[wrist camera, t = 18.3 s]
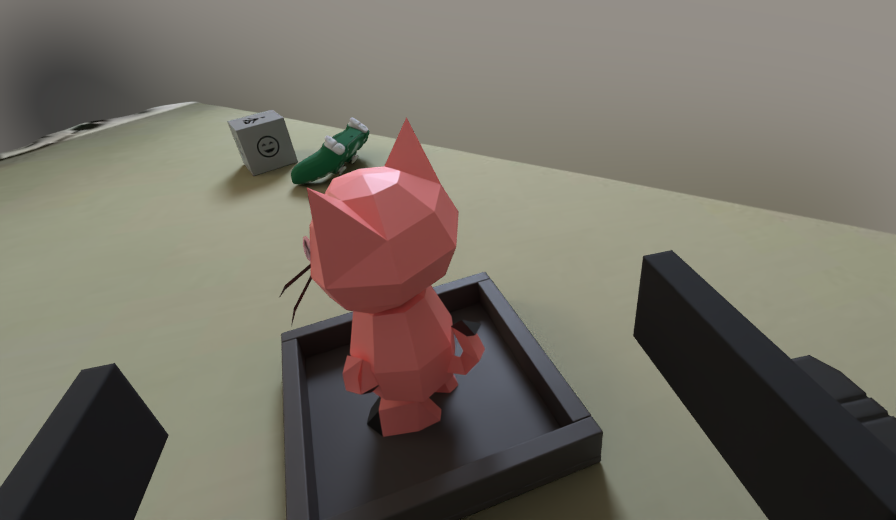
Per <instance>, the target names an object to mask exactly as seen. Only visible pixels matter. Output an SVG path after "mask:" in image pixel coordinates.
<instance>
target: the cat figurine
mask: <svg viewBox="0 0 896 520" xmlns="http://www.w3.org/2000/svg"><path fill="white" fill-rule="evenodd" d="M307 192H308V197H309V203H310V208H311V214H312V221H311V224H310V241H309V239H308V238H307V237H306V236H304V237H303V247H304V252H305V254H306V257H307V259H308V260H309V261H311V264H310V265H309V266H307V267H306V268H305V269H304V270H303V271H301V272H300V273H299V274H298V275H297V276H295V277H294V278H293V279H292V280H291V281H290V282H288V283H287V284H286V285H285V286H284V289H283V291H282V293H283V292H284V291H285V289H286V288H288V287H289V286H290V285H291V284H292V283H293V282H295V281H296V280H297V279H298V278H299V277H300V276H302V275H303V274H304V273H305V272H306V271H307V270H309V269H310V268H311V276H310V278H309V280H308V282H307V284H306V286H305V288H304V290H303V292H302V293H301V295H300V297H299V299H298V301H297V303H296V305H295V307H294V311H293V318H292V323H293V319H294V315H295V311H296V309H297V307H298V305H299V303H300V301H301V299H302V297H303V295H304V293H305V291H306V289H307V287H308V285H309V283H310V281H311V279H313V280H314V281H315V282H316V283H317V284H318V285H319V286H320V287H321V288H322V289H323V290H324V292H325V293H326V294H327V295H328V296H329V297H330V298H332V299H333V300H334V301H336V302H337V303H338V304H339V305H341V306H342V307H343V308H345V309H346V310H349V311H353V319H352V332H351V345H350V355H351V356H348V355H347V358H346V362H345V366H344V370H343V373H342V374H343V379H344V384H345V389H346V391H350V392H353V393H357V394H360V395H362V394H367V393H372V392H374V393H375V394H377V395H378V396H379V398H378V399H377V400H376V402H375V403H374V405H373V406H372V407H371V409H370V413H369V417H368V421H367V425H368V426H369V427H371V428H372V429H373V430H375V431H376V432H377V433H379V434H380V435H381V436H383V437H385V436H392V435H398V434H404V433H410V432H417V431H420V430H422V429H424V428H426V427H428V426H430V425H432V424H434V423H436V422H438V421H440V419H441V410H442V409H440V408H439V407H438V406H437V405H436V404H435V403H434V402H433V401H432V400H431V399H430V398H429V397H430V396H431V395H432V394H433V393H434V392H442V393H450V392H452V391H453V390H454V389H455V388H456V387H457V386H458V383H457V380H456V378H455V376H454V374H461V375H466V374H467V373H468V372H469V371H470V370H471V369H472V368H473V367H474V366H475V365H476V364H477V363H478V362H479V361H480V359H481V357H482V355H483V352H484V350H485V348H484V346H483V344H482V342H481V340H480V338H479V336H478V334H477V331H478V330H479V328H480V326H481V324H480V323H475V322H470V321H465V320H460V321H459V322H457V323H455V324H453V323H452V316H451V315H450V313H449V312H448V310H447V309H446V307H445V306H444V304H443V303H442V301H441V300H440V298H439V297H438V295H437V294H436V292H435V291H434V289H433V288H432V286H431V285H432V284H433V283H435V282H436V281H438V280H439V279H440V278H442V277H443V276H445V274H446V272H447V269H448V267H449V264H450V261H451V259H452V256H453V254H454V251H455V249H456V242H457V227H458V210H457V209H456V207H455V206H454V204H453V202H452V201H451V199H450V198H449V196H448V195H447V193H446V192H445V190H444V188H443V187H442V185H441V184H440V182H439V180H438V178H437V176H436V174H435V172H434V170H433V168H432V166H431V164H430V162H429V160H428V158H427V156H426V154H425V152H424V151H423V149H422V147H421V145H420V143H419V141H418V139H417V137H416V135H415V133H414V131H413V129H412V127H411V125H410V123H409V121H408V119H407V118H406V120H405V122H404V124H403V126H402V128H401V131H400V133H399V135H398V137H397V140H396V142H395V144H394V146H393V148H392V151H391V153H390V155H389V157H388V160H387V162H386V164H385V166H384V167H373V168H362V169H357V170H355V171H352V172H349V173H347V174H344V175H342V176H339V177H336V178H334V179H333V180H332V181H331V183H330V185H329V187H328V189H327V190H326V192H325V194H322V193H320V192H317V191H315V190H312V189H309V188H307ZM282 293H281V295H282ZM281 295H280V296H281ZM291 327H292V326H291ZM454 334H455V336H456V338H457V340H458V342H459V344H460V346H461V348H462V350H463V352H462V354H461V356H460V357H459V356H455V338H454Z"/></svg>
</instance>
